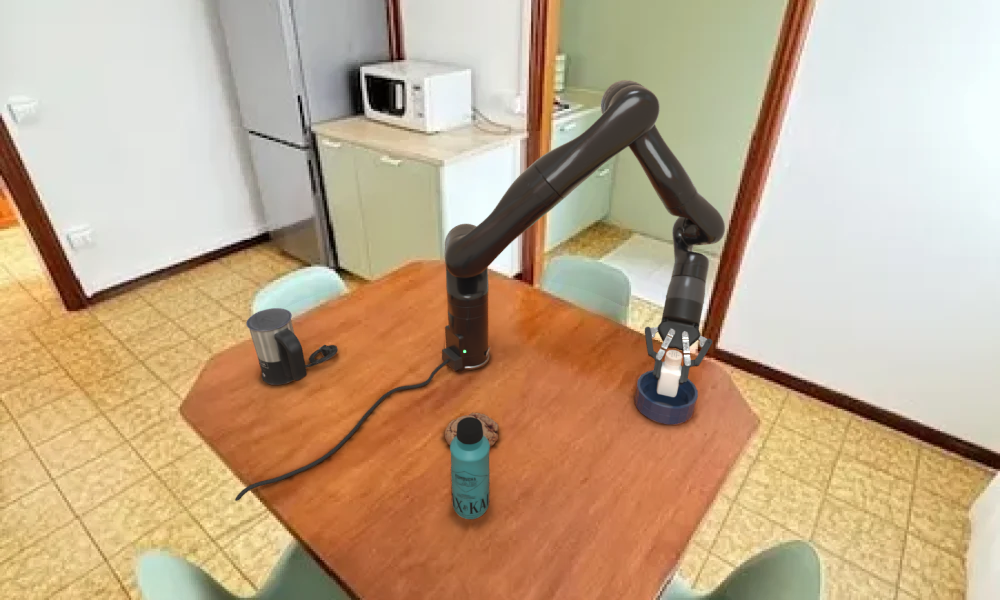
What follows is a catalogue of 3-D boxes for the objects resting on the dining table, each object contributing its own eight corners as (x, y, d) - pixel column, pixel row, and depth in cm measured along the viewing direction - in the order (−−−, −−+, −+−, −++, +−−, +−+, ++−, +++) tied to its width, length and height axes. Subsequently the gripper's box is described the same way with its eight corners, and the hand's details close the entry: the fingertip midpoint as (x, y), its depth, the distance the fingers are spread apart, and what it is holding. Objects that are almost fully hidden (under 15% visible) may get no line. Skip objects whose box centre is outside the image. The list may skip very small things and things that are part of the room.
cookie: (438, 427, 109) (438, 416, 108) (487, 412, 113) (487, 402, 111) (455, 462, 101) (454, 450, 100) (506, 445, 105) (506, 434, 103)
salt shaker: (677, 386, 114) (685, 350, 109) (675, 398, 111) (684, 362, 106) (657, 382, 115) (664, 346, 110) (655, 394, 112) (663, 358, 107)
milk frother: (252, 379, 121) (236, 325, 114) (299, 341, 134) (287, 290, 126) (303, 395, 117) (290, 340, 109) (347, 355, 129) (338, 302, 122)
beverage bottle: (451, 495, 95) (446, 410, 85) (489, 493, 95) (489, 408, 85) (452, 528, 89) (446, 441, 79) (492, 525, 90) (492, 438, 79)
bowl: (668, 435, 108) (673, 416, 105) (622, 402, 116) (625, 384, 113) (705, 409, 114) (709, 391, 111) (658, 379, 122) (662, 362, 120)
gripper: (649, 290, 111) (633, 371, 108) (722, 303, 107) (708, 388, 104) (649, 299, 118) (633, 376, 115) (717, 312, 114) (703, 392, 111)
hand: (669, 381), depth 109 cm, fingers closed on salt shaker, 4 cm apart
